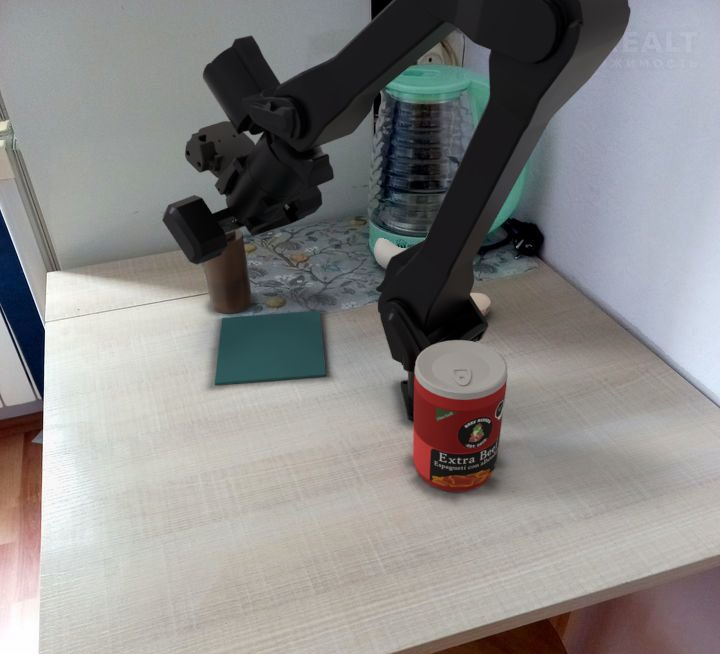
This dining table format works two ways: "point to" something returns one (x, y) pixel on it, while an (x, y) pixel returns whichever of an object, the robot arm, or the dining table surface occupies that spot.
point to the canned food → (458, 413)
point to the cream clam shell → (481, 302)
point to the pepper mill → (229, 277)
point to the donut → (385, 251)
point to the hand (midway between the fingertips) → (221, 244)
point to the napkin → (270, 348)
